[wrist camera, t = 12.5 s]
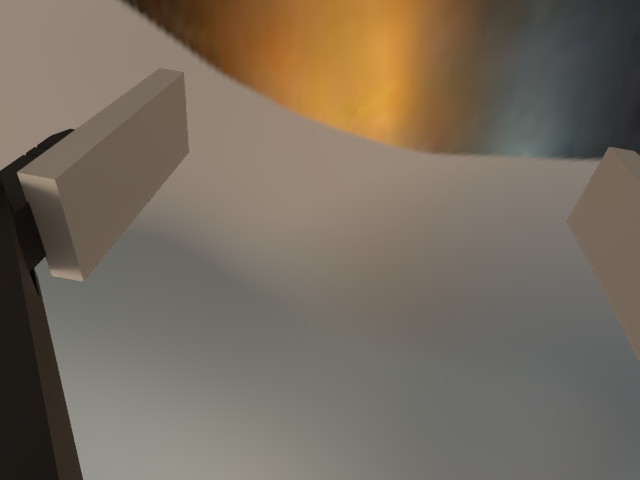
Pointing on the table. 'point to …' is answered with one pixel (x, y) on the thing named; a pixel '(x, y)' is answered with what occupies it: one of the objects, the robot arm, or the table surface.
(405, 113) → the table surface
